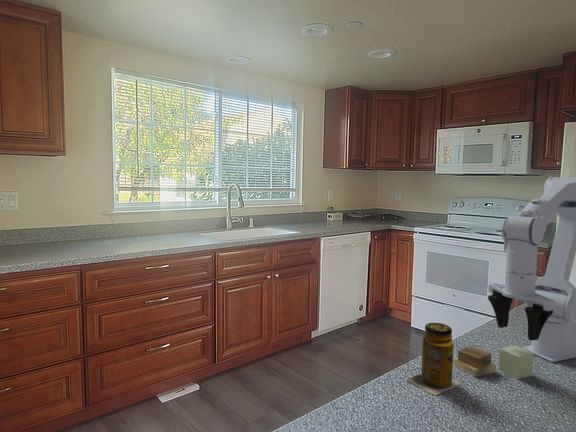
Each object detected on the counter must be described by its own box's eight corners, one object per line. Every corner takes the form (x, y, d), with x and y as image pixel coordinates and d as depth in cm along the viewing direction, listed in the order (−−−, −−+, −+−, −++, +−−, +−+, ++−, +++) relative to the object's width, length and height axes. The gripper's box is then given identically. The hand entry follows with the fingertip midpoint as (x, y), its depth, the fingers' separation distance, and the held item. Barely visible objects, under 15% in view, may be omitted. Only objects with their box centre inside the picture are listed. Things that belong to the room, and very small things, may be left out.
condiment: (461, 384, 81) (463, 328, 80) (435, 396, 76) (437, 337, 75) (431, 370, 87) (432, 318, 86) (405, 380, 83) (407, 325, 82)
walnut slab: (469, 354, 91) (470, 345, 91) (491, 362, 87) (491, 352, 87) (457, 360, 89) (458, 350, 88) (479, 368, 84) (479, 358, 84)
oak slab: (474, 363, 92) (474, 354, 92) (495, 375, 86) (495, 365, 86) (453, 367, 90) (454, 357, 90) (473, 379, 84) (474, 369, 84)
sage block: (514, 366, 89) (515, 345, 88) (532, 376, 85) (533, 353, 84) (499, 369, 87) (500, 348, 87) (516, 379, 83) (517, 356, 83)
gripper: (479, 266, 90) (477, 323, 91) (538, 281, 76) (534, 348, 77) (502, 264, 92) (500, 320, 93) (564, 278, 78) (560, 343, 79)
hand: (517, 332), depth 85 cm, fingers open, 7 cm apart
